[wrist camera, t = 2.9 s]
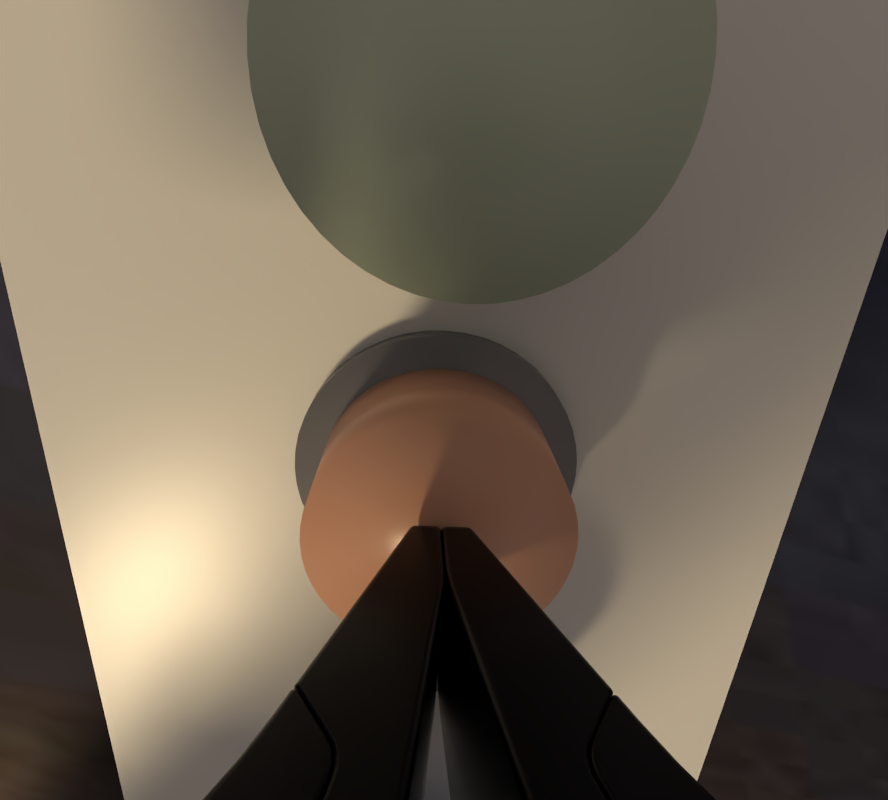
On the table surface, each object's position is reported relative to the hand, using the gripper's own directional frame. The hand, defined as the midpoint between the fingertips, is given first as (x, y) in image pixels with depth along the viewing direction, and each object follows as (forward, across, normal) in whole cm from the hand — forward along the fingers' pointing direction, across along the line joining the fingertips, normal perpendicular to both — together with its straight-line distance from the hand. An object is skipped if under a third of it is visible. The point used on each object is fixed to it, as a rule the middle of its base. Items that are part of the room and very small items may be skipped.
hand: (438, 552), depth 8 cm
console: (+5, 0, +3) cm, 5 cm away
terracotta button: (+2, 0, 0) cm, 2 cm away
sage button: (+1, 0, -6) cm, 6 cm away
